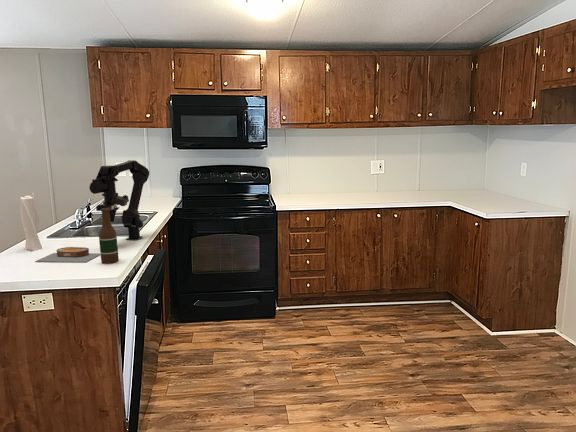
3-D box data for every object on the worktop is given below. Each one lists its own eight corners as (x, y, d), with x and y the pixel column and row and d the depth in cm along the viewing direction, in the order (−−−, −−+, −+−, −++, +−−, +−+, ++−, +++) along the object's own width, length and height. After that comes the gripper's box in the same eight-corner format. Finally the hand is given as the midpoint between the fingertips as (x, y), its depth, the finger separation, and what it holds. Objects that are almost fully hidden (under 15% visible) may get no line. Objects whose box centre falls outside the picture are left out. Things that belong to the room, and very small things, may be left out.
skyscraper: (46, 247, 237) (39, 192, 232) (33, 251, 230) (26, 194, 225) (34, 246, 239) (27, 191, 234) (21, 250, 233) (14, 193, 227)
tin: (92, 247, 222) (81, 250, 214) (92, 254, 223) (81, 257, 214) (64, 246, 225) (52, 249, 217) (64, 253, 226) (52, 256, 218)
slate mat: (53, 253, 224) (53, 252, 224) (101, 254, 222) (101, 253, 222) (35, 262, 210) (35, 261, 210) (86, 262, 208) (86, 261, 208)
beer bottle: (97, 261, 209) (92, 208, 205) (114, 258, 214) (110, 206, 210) (105, 265, 204) (100, 210, 199) (122, 261, 209) (117, 208, 204)
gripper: (116, 193, 223) (119, 225, 226) (133, 188, 242) (135, 218, 245) (94, 193, 225) (97, 225, 227) (112, 188, 243) (115, 218, 246)
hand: (112, 222), depth 236 cm, fingers closed
